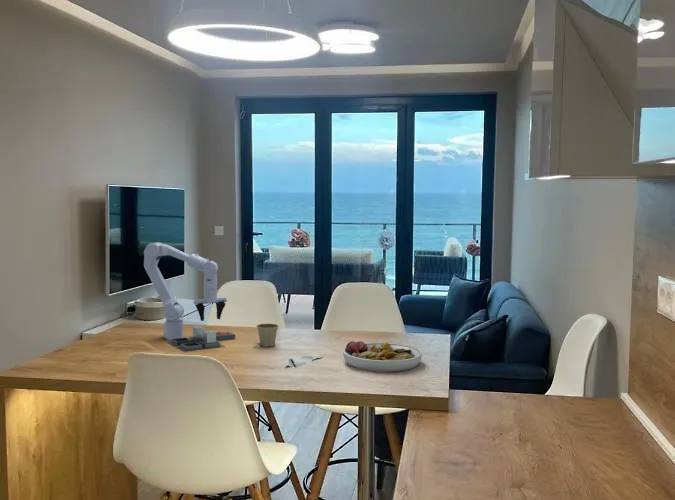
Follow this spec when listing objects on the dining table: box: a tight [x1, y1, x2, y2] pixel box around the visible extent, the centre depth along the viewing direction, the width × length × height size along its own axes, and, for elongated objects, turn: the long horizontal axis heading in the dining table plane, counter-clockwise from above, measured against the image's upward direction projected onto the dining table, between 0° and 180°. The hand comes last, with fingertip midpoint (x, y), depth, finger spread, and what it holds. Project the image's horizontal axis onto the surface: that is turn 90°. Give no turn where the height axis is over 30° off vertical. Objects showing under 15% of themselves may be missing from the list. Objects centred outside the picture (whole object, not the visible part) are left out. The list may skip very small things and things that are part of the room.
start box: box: [216, 330, 236, 342], centre depth 278 cm, size 8×8×3 cm
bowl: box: [342, 340, 423, 373], centre depth 241 cm, size 30×30×8 cm
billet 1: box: [192, 325, 206, 339], centre depth 271 cm, size 4×4×6 cm
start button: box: [218, 330, 228, 335], centre depth 278 cm, size 4×4×2 cm
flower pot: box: [256, 323, 279, 348], centre depth 269 cm, size 9×9×9 cm
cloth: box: [284, 353, 323, 369], centre depth 243 cm, size 26×14×2 cm, turn 137°
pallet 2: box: [175, 340, 226, 353], centre depth 260 cm, size 10×18×2 cm, turn 125°
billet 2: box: [203, 329, 217, 344], centre depth 262 cm, size 4×4×6 cm
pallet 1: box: [165, 336, 203, 348], centre depth 269 cm, size 10×18×2 cm, turn 125°
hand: (210, 319), depth 276 cm, fingers open, 7 cm apart
